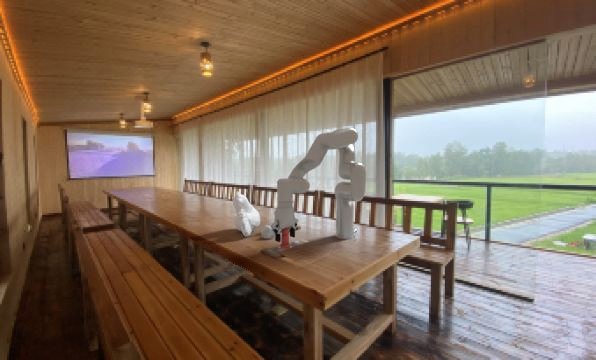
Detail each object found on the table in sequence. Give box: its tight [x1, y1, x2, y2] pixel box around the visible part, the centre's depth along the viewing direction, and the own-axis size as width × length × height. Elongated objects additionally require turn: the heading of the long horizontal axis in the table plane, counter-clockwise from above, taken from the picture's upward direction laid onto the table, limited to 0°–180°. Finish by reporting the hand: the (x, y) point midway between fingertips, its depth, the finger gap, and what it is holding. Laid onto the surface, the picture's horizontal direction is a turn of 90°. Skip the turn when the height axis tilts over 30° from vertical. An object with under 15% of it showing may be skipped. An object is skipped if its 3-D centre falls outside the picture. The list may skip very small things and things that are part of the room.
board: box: [260, 238, 310, 259], centre depth 132 cm, size 26×12×1 cm, turn 136°
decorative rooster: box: [232, 191, 261, 238], centre depth 156 cm, size 25×16×25 cm
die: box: [260, 224, 275, 240], centre depth 145 cm, size 8×9×10 cm
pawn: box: [279, 228, 291, 250], centre depth 129 cm, size 5×5×10 cm
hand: (285, 239), depth 129 cm, fingers open, 9 cm apart
